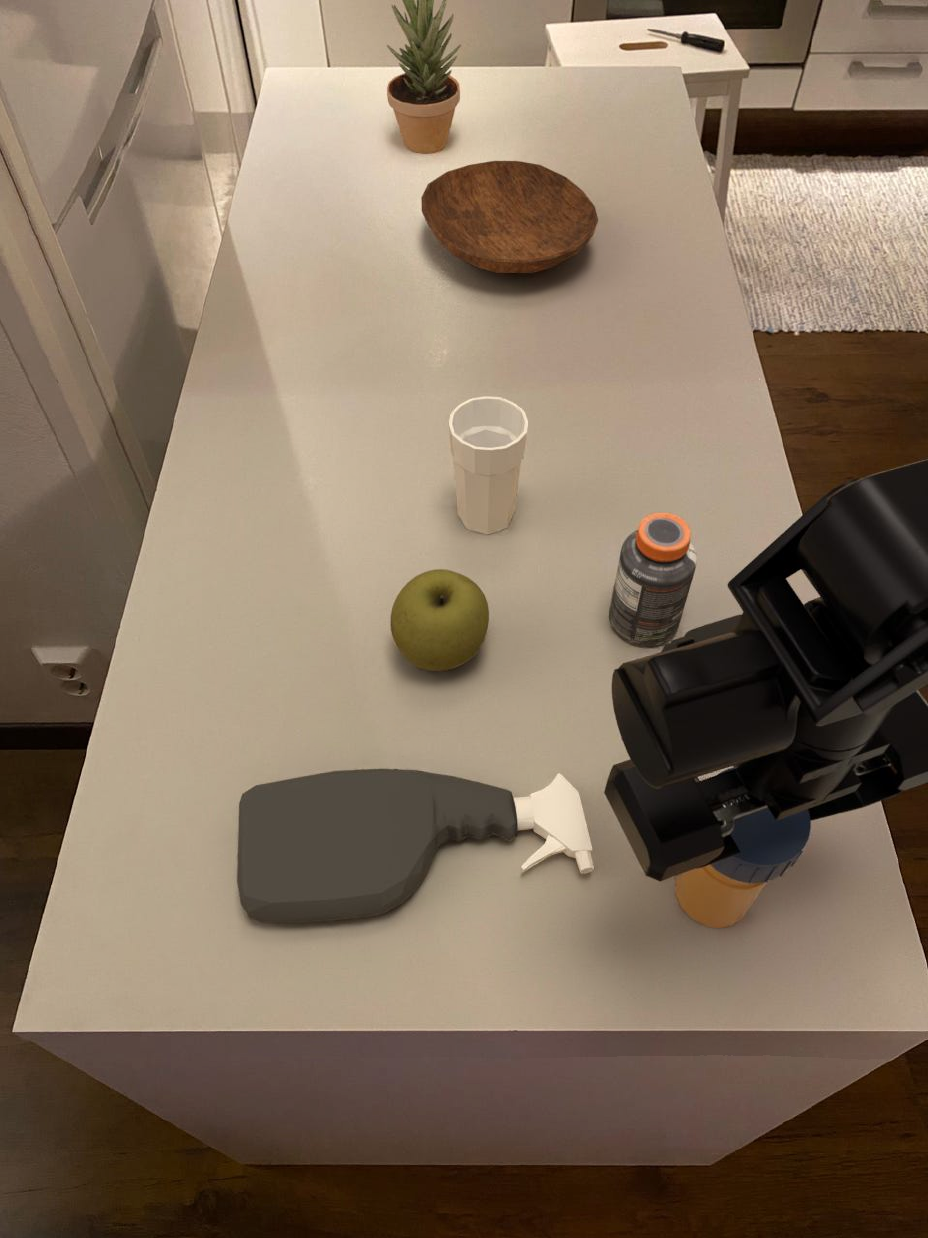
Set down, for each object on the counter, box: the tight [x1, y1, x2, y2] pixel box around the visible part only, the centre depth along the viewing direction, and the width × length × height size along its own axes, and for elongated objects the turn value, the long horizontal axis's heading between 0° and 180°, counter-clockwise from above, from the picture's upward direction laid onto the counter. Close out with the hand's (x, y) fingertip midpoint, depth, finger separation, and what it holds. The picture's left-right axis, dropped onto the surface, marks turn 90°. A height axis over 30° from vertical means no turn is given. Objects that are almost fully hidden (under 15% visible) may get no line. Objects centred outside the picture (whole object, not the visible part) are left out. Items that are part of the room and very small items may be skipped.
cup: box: [448, 395, 529, 536], centre depth 83 cm, size 7×7×11 cm
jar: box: [674, 865, 767, 929], centre depth 62 cm, size 5×5×10 cm
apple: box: [389, 568, 490, 672], centre depth 76 cm, size 8×8×7 cm
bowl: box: [420, 160, 599, 274], centre depth 112 cm, size 20×22×5 cm
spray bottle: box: [236, 768, 595, 923], centre depth 67 cm, size 3×11×24 cm
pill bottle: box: [608, 511, 698, 647], centre depth 76 cm, size 6×6×11 cm
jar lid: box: [710, 766, 812, 884], centre depth 57 cm, size 6×6×3 cm
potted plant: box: [386, 0, 462, 154], centre depth 119 cm, size 10×10×25 cm
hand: (744, 834), depth 58 cm, fingers closed on jar lid, 6 cm apart
